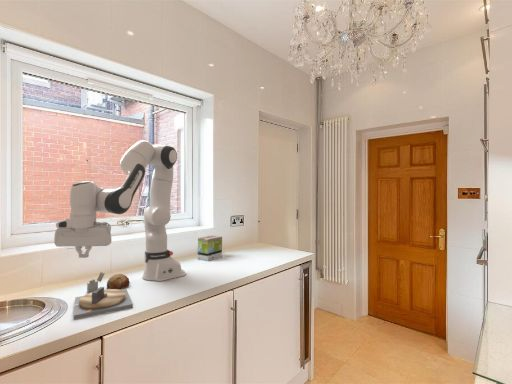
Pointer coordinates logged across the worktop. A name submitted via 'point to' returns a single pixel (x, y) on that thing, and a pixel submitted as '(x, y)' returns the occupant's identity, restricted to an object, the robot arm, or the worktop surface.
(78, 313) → the dial plate
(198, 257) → the tea box
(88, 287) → the lighter
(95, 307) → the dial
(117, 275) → the bread roll
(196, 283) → the worktop surface
